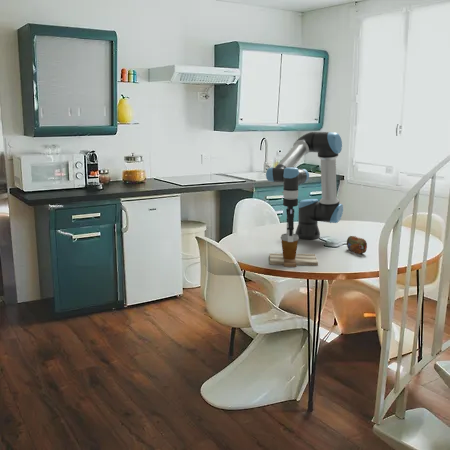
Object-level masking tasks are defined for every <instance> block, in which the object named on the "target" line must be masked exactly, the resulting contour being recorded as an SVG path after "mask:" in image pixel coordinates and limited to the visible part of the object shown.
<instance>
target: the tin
mask: <svg viewBox="0 0 450 450" xmlns="http://www.w3.org/2000/svg"><path fill="white" fill-rule="evenodd" d="M346 247H347V249H348V250H349V251H350V252H353V253H355V254H359V255H360V254H364V253H366V251H367V248H368V243H367V241H366V239H365V238H361V237H358V236H356V235H350V236H348V237H347V240H346Z"/></svg>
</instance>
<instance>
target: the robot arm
mask: <svg viewBox="0 0 450 450" xmlns="http://www.w3.org/2000/svg"><path fill="white" fill-rule="evenodd" d="M342 149H343V141H342V136H341V135H340V134H339V133H338V132H333V131H310V132H307V133H305V134H303V135H302V136H299V137H298V139H296V140H295V142H294V143H293V146H292V148H290V150H289V151H288V152H287V153H286V155H284V157H282V159H281V160H280V161H279V162H278V163H277V165H276V166H275V167H268V168H267V170H266V173H265V177H266V181H268V182H272V183H283V188H282V189H283V191H282V192H281V193H282V194H283V200H282V205H283V206H284V207H286V209H285V211H286V234H287V233H288V242H293V234H297V235H298V237H299V239H300V240H301V239H302V240H316V239H317V240H318V239H319V238H320V237H321V233H320V228H319V225H318V222H323V223H330V224H337V223H339V222H340V221H341V219H342V216H343V212H344V205H343V204H342V203H340V199H339V198H338V197H337V191H338V190H337V166H336V165H337V164H336V163H337V158H338V156H339V154H340V153H341V152H342ZM309 153H317V157H318V159H320V175H321V176H320V178H321V179H320V181H321V198H320V199H318V198H308V199H301V200H300V201H299V199H298V198H299V185H303V184H305V183H306V182H308V181H309V179H310V173H309V171H308V170H307V169H305V168H298V167H295V166H296V164H298V163H299V161H300V160H301V158H303V156H306V155H308V154H309ZM297 206H298V220H297V221H298V223H297V227H296V229H295V225H294V224H295V222H294V219H295V208H294V207H297ZM294 229H295V232H294Z"/></svg>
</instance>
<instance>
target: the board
mask: <svg viewBox="0 0 450 450" xmlns="http://www.w3.org/2000/svg"><path fill="white" fill-rule="evenodd" d="M269 264H270V265H275V266H277V265H278V266H284V267H285V268H286V267H289V268H292V267H293V268H295V267H297V266H319V262H318V259H317V256H316V254H315V253H296V257H295V259H285V258H283V253H277V252H275V253H271V252H270V253H269Z"/></svg>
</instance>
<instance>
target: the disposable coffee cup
mask: <svg viewBox="0 0 450 450" xmlns="http://www.w3.org/2000/svg"><path fill="white" fill-rule="evenodd" d="M299 239H300V238H299V237H298V235H297V234H295V233H293V242H288V233H287V232H286V233H282V234H281V236H280V240H281V248H282V254H283V258H285V259H295V257H296V254H297V251H298V250H297V249H298V245H299V244H298V241H299Z"/></svg>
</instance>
